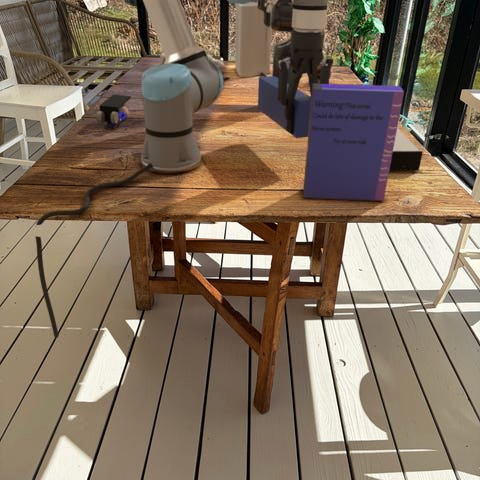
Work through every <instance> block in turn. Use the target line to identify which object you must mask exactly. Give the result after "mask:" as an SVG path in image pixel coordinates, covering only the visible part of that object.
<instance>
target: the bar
mask: <svg viewBox="0 0 480 480" xmlns="http://www.w3.org/2000/svg"><path fill="white" fill-rule="evenodd" d="M278 79H279V78H277V77H275V76H272V75H269V76H267V77H264V76H259V77H258V90H257V91H258V93H257V110H258V111H260V112H261V113H263V114H264V115H265V116H266V117H268V119H270V120H272V121H273V122H275V123H276V125H278V126H280V127H281V128H282V129H283V130H285V131H286V126H287V120H286V119H285V118H284V109H285V106H284V105H282V104H280V103H279V102H278V101H277V97H278ZM288 86H289V84H287V90H288ZM311 98H312V97H311V95H309V94H307V93H305V92H303V91H302V90H300V89H299V88H298V89H297V92H296V95H295V99H294V102H293V106H294V107H295V119H294V132H293V134H290V135H291V136H293V137H294V138H295V139H303V138H308V131H309V120H310V109H311Z"/></svg>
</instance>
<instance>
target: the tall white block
mask: <svg viewBox="0 0 480 480" xmlns="http://www.w3.org/2000/svg"><path fill="white" fill-rule="evenodd" d="M266 4H267V2H265V5H266ZM257 7H258V2H255V1H252V2H249V3H246V4H237V3H235V59H234V60H235V62H234V63H235V65H234V66H235V68H234V69H235V71H236V73H237V75H238V77H239V78H253V77H257V76H259V75H260V76H262V75H261V72H262V73H263V74H265V75H266V74H270V73H271V56H272V55H271V54H272V33H273V32H272V31H273V30H272V29H271V24H270V27H266V26H265V24H264V12H263V11H262V10H259V9H258V8H257ZM270 13H271V10H270Z"/></svg>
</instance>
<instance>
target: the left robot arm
mask: <svg viewBox="0 0 480 480" xmlns="http://www.w3.org/2000/svg"><path fill="white" fill-rule="evenodd" d="M226 1H227V2H229V3H232V4H236V3H237V4H246V3H249V2H256V1H257V0H226ZM328 1H329V0H293V13H292V28H294V30H293V31H292V32H290V37H291V42H290V53H289V55H288V58H286V59H284V60H278V61H277V65H278V68H279V79H278V97H277V101H278V102H279V103H280V104H282V105H284V106H285V109H284V118H285V119H286V120H287V126H286V130H285V131H286V132H287V133H289V134H290V135H291V134H293V132H294V119H295V107H294V106H293V102H294V99H295V95H296V92H297V88H298V89H299V85H300V81H301V79H302V78H303V75H305V74H306V75H307V78H308V86H309V94H310V96H311V97H312V87H313V84H318V79H317V76H318V71H317V67H318V66H319V64H320V63H321V65H322V66H321V73H320V83H319V84H330V79H329V77H330V69H331V70H332V67H333V65H334V58H333V59H331V58H328V57H327V56H324V52H323V50H324V46H325V45H324V44H325V34H326V33H325V32H324V30H325V29H326V25H327V16H328V15H327V14H328V3H329V2H328ZM142 2H143V5H144V7H145V10H146V12H147V14H148V16H149V19H150V22H151V24H152V27H153V29H154V33H155V34H156V36H157V39H158V42H159V44H160V46H161V49H162V52H163V53H164V54H165V56H166V60H165V62H164V64H163V65H160V64H157V65H154V66H151V67H149V68H147V69H146V70H144V72H143V73H142V75H141V87H140V88H141V89H140V93H141V95H142V105H143V115H144V125H145V138H144V142H143V146H142V150H141V154H140V162H141V166H142V168H140V169H139V170H137V171H136V172H134V173H133V174H132V175H131V176H129V177H127V178H125V179H122V180H119V181H114V182H108V183H102V184H98V185H95V186H92V187H91V188H89V189H88V190H86V192H85V193H84V204H83V206H81V207H80V208H78V209H73V210H53V211H49V212H47V213H45V214H43V215H42V216H40V218H39V219H38V220H37V222H36V223H35V224H36V226H40V225H42V224H43V223H44V222H45V221H46V220H47V219H50V218H52V217H57V216H58V217H59V216H75V215H80V214H83V213H84V212H86V211H87V210H88V209H89V207H90V204H91V199H90V196H91V194H93V193H94V192H96V191H99V190H102V189H108V188H113V187H119V186H123V185H125V184H128V183H130V182H132V181H134V180H135V179H136V178H137V177H139V176H140V175H142V174H143V173H144V172H146V171H149V172H151V173H156V174H163V175H164V174H165V175H169V174H170V175H172V174H173V175H175V174H182V173H187V172H190V171H193V170H195V169H197V168H198V167H199V166H201V163H202V155H201V151H200V149H199V148H200V146H199V145H198V143H197V141H196V137H195V135H194V130H193V129H194V126H193V115H194V114H195V113H197V112H199V111H201V110H203V109H206V108H208V107H210V106H211V105H212V104H214V103H215V102H216V101H217V100H218V99H219V98H220V96H221V94H222V92H223V90H224V83H223V77H224V76H223V73H222V70H221V68H220V67H219V66H218V64H217V63H213V62H212V61H210V60H209V59H208V57H207V52H206V49H205V48H203V47H201V46H199V45H198V44H197V41H196V39H195V36H194V34H193V32H192V28H191V26H190V24H189V23H190V22H189V21H188V19H187V15H186V13H185V10H184V8H183V5H182V2H181V0H142ZM289 63H290V64H291V65H292V67H293V68H292V72H291V79H290V83H289V86H288V90H287V79H288V70H287V69H288V68H289ZM330 78H331V77H330ZM35 244H36V258H37V269H38V274H39V280H40V285H41V289H42V294H43V298H44V301H45V306H46V309H47V313H48V317H49V320H50V323H51V324H50V325H51V328H52V333H53V337H54V338H55V339H57V338H59V337H60V335H59V329H58V326H57V322H56V318H55V313H54V310H53V306H52V302H51V298H50V296H49V291H48V286H47V281H46V277H45V269H44V260H43V259H44V258H43V247H42V246H43V244H42V237H41V236H35Z"/></svg>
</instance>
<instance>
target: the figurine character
mask: <svg viewBox="0 0 480 480" xmlns="http://www.w3.org/2000/svg"><path fill="white" fill-rule="evenodd" d="M131 98H132V96H131V95H122V94H111V96H110V97H108V98H107V99H105V100H104V101H103V102H101V104H99V110H98V111H96V115H95V119H96V123H98V124H103V123H106V124H105V125H104V127H103V128H104V129H107V128H108V127H110V126H113V127H112V129H114V130H115V129H116V128H117V127H118V126H119V124H120V123H121V122H122V121H124V120H126V119H127V117H128V116H129V114H130V110H129V107H128V106H127V104H126V103H127V102H128V101H129V100H130V99H131Z"/></svg>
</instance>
